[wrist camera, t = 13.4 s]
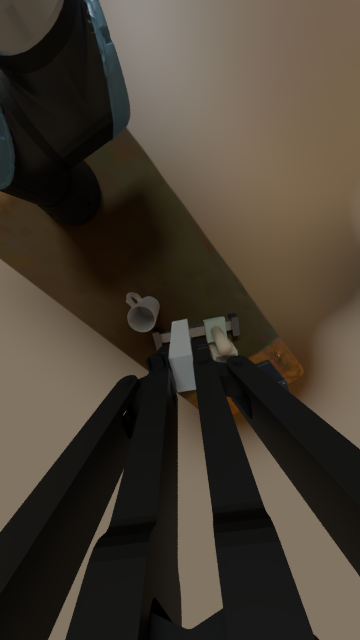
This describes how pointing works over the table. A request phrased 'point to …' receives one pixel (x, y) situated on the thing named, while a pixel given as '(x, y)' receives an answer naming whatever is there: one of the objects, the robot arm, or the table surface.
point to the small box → (273, 373)
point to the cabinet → (217, 355)
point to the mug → (142, 312)
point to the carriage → (218, 334)
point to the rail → (196, 330)
